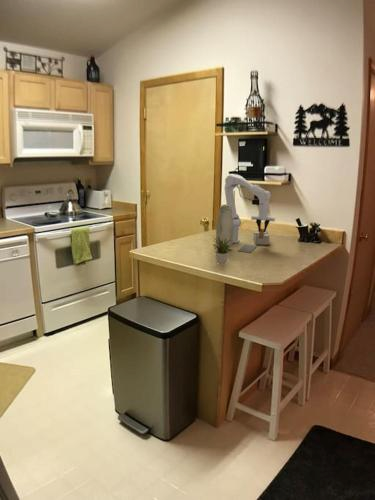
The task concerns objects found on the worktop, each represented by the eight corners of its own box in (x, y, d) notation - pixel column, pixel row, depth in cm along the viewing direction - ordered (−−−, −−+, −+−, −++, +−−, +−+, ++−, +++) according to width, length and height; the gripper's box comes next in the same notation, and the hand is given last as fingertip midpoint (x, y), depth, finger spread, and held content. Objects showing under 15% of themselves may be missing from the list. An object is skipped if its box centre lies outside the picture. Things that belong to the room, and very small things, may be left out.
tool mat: (237, 251, 246) (237, 250, 246) (245, 244, 263) (245, 244, 263) (250, 252, 243) (250, 252, 243) (257, 246, 260) (257, 245, 260)
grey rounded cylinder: (218, 247, 255) (219, 203, 248) (233, 248, 252) (236, 204, 245) (213, 250, 246) (215, 205, 239) (230, 252, 243) (232, 206, 236)
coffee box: (269, 245, 263) (266, 239, 278) (269, 235, 261) (267, 230, 277) (254, 244, 264) (253, 239, 279) (255, 235, 262) (253, 230, 278)
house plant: (202, 264, 217) (203, 234, 213) (211, 258, 229) (212, 230, 225) (227, 268, 211) (228, 237, 207) (235, 261, 223) (236, 232, 219)
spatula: (264, 238, 248) (265, 233, 247) (256, 238, 249) (256, 232, 248) (267, 231, 260) (267, 225, 259) (259, 230, 262) (259, 225, 260)
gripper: (250, 210, 250) (249, 231, 253) (274, 212, 245) (272, 234, 248) (253, 208, 256) (251, 229, 259) (276, 210, 251) (274, 231, 254)
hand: (262, 231), depth 254 cm, fingers closed on spatula, 3 cm apart
